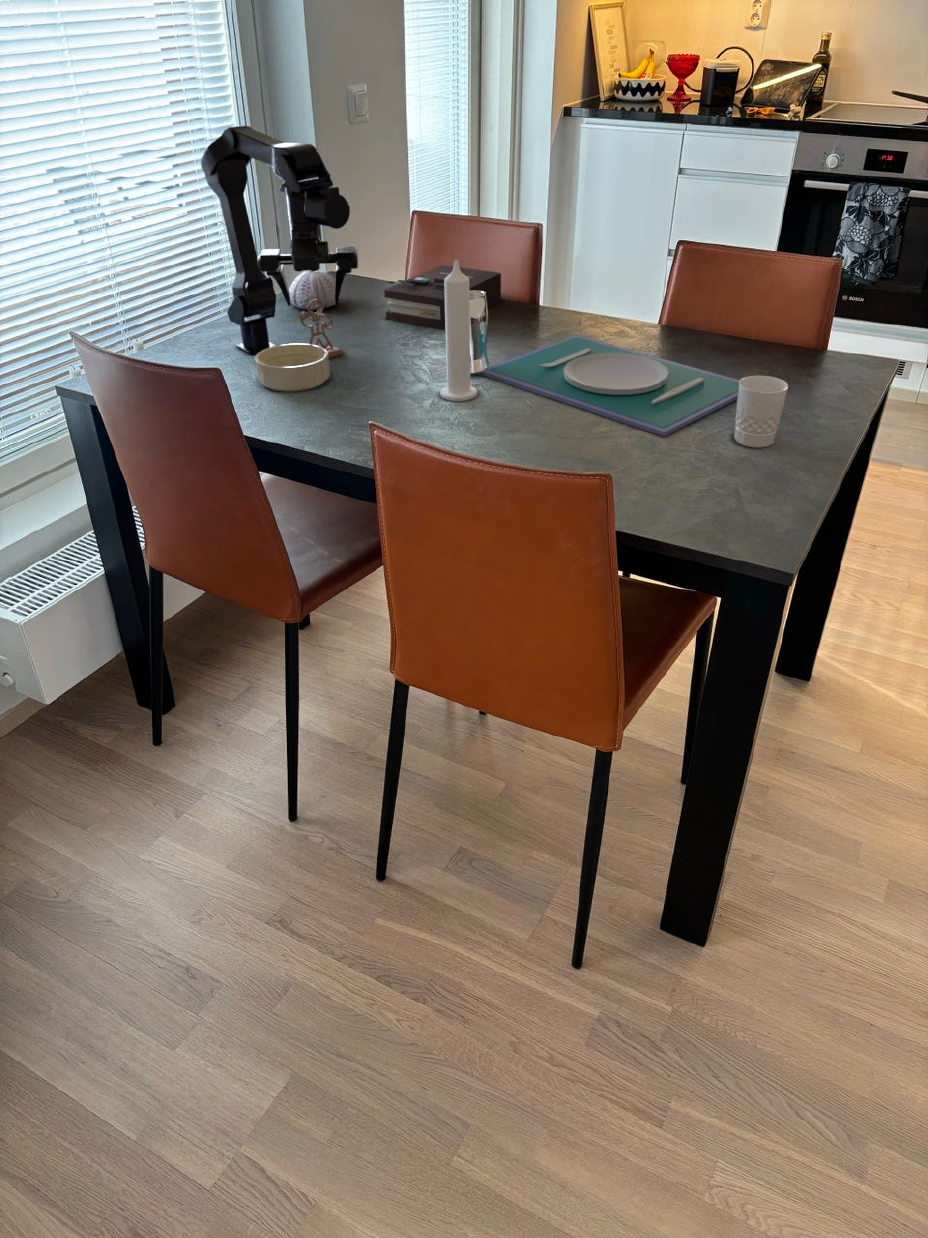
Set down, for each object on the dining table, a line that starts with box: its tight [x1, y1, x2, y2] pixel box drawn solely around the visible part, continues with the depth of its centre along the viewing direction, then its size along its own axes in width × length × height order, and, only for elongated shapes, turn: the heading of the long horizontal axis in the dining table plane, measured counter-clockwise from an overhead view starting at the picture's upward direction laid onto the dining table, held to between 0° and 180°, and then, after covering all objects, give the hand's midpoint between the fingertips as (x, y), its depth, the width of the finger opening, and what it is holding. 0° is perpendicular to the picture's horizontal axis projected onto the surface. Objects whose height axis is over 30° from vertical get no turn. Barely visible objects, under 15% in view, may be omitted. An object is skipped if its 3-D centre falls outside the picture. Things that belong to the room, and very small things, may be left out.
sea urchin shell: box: [288, 270, 343, 310], centre depth 229 cm, size 13×14×8 cm
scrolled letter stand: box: [298, 299, 343, 359], centre depth 196 cm, size 9×4×12 cm, turn 136°
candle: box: [439, 259, 478, 402], centre depth 174 cm, size 7×7×25 cm
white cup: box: [733, 375, 789, 448], centre depth 159 cm, size 8×8×10 cm
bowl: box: [254, 342, 331, 392], centre depth 187 cm, size 14×14×5 cm
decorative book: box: [383, 264, 502, 330], centre depth 224 cm, size 19×8×30 cm
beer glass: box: [469, 290, 490, 375], centre depth 187 cm, size 7×7×15 cm
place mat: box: [480, 334, 741, 437], centre depth 184 cm, size 45×30×2 cm
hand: (313, 304), depth 184 cm, fingers open, 9 cm apart
